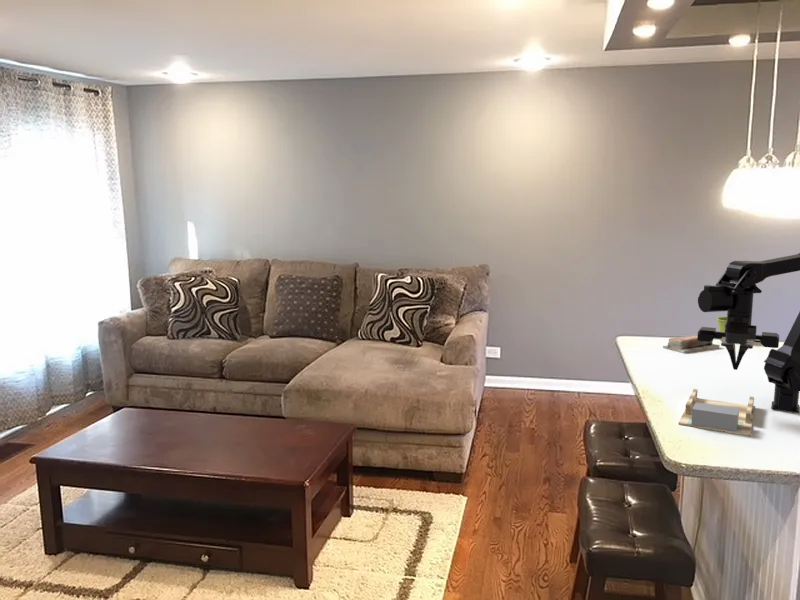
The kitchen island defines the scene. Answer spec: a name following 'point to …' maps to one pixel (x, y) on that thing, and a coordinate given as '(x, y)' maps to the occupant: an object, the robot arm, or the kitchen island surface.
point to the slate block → (715, 416)
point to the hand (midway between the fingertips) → (735, 369)
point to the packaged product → (689, 344)
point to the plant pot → (722, 323)
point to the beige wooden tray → (744, 410)
